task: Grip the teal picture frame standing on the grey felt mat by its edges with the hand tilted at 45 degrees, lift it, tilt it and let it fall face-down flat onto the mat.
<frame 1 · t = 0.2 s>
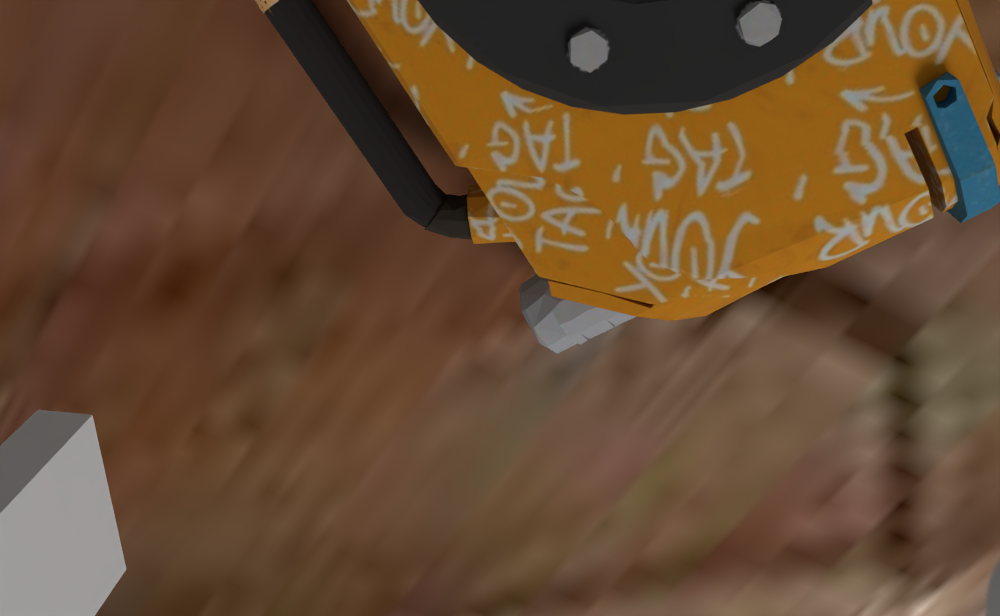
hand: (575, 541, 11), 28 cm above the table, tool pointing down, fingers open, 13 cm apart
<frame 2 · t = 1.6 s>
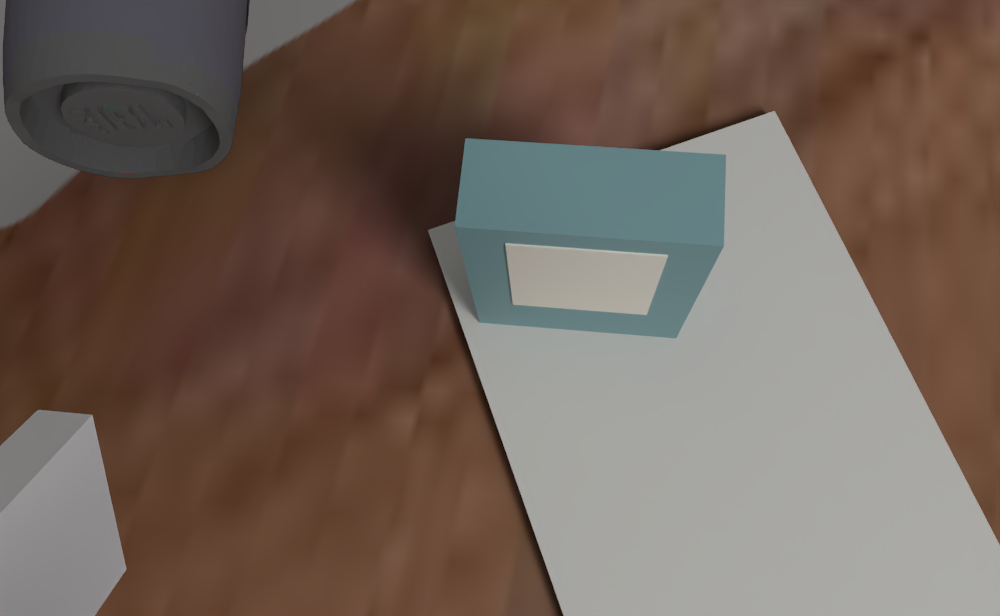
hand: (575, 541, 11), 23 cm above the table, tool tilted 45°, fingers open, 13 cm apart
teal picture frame: (579, 295, 36), point 1 cm above the table, touching mat
mat: (703, 409, 35), on the table
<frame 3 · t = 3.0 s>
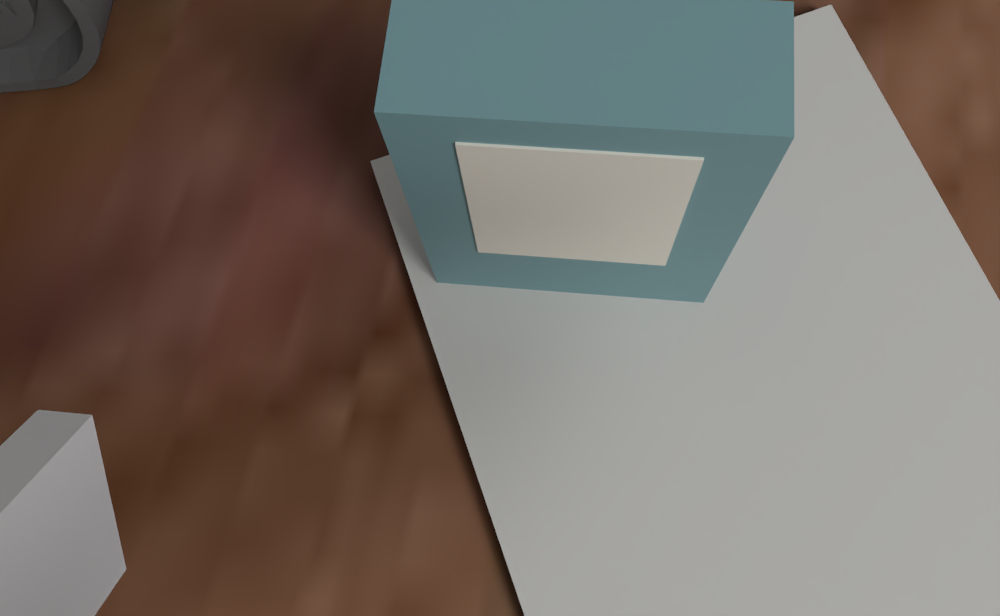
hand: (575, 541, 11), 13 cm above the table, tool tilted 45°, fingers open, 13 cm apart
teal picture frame: (572, 246, 26), point 1 cm above the table, touching mat
mat: (740, 398, 25), on the table
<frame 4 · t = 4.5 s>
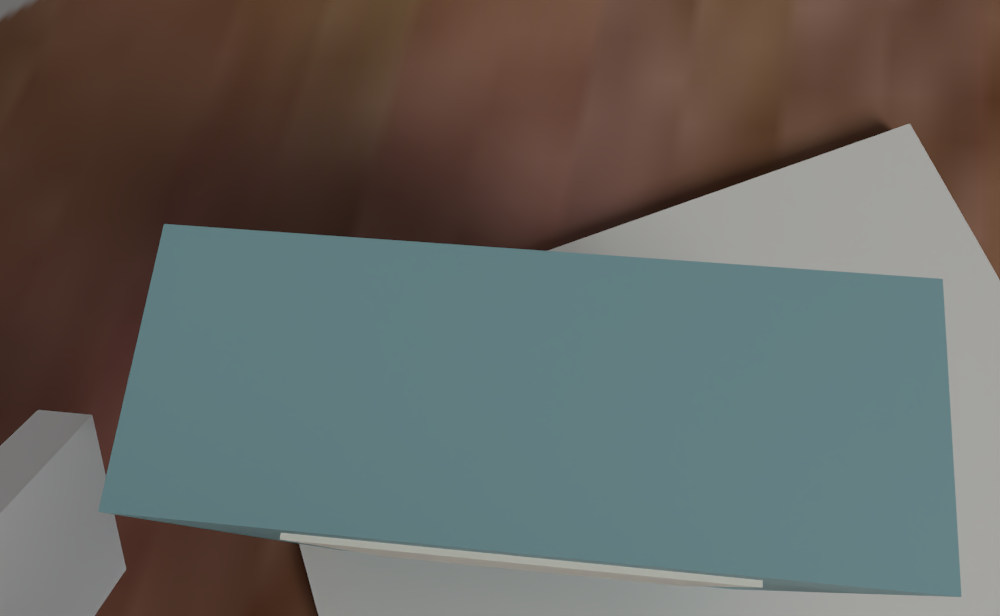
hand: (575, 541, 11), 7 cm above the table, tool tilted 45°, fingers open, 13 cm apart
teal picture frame: (538, 494, 18), point 1 cm above the table, touching mat
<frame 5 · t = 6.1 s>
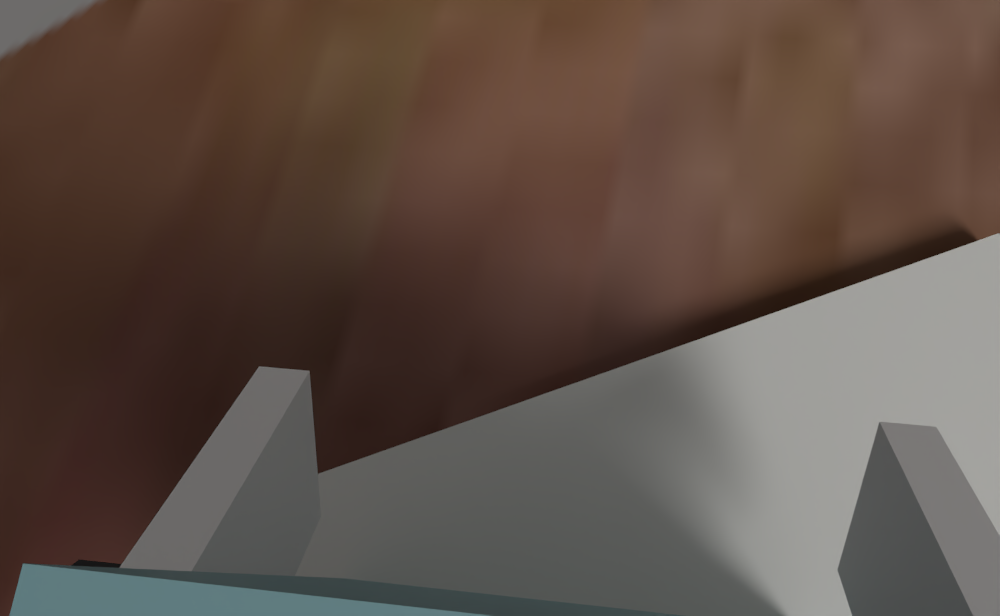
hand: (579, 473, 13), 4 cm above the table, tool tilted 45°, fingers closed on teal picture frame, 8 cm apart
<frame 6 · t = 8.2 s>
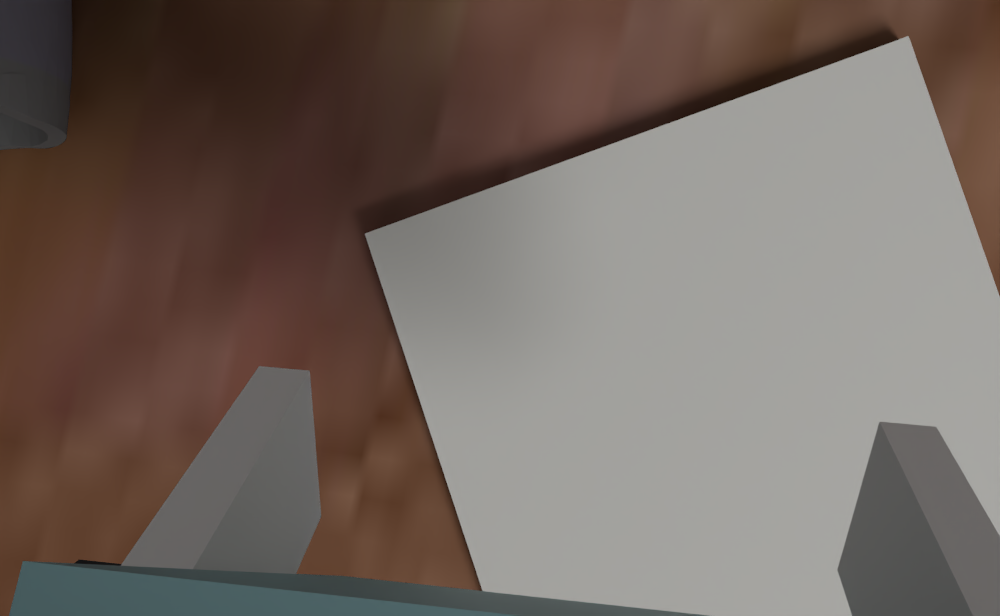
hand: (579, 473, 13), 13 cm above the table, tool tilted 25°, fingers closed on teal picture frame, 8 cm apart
mat: (745, 506, 25), on the table
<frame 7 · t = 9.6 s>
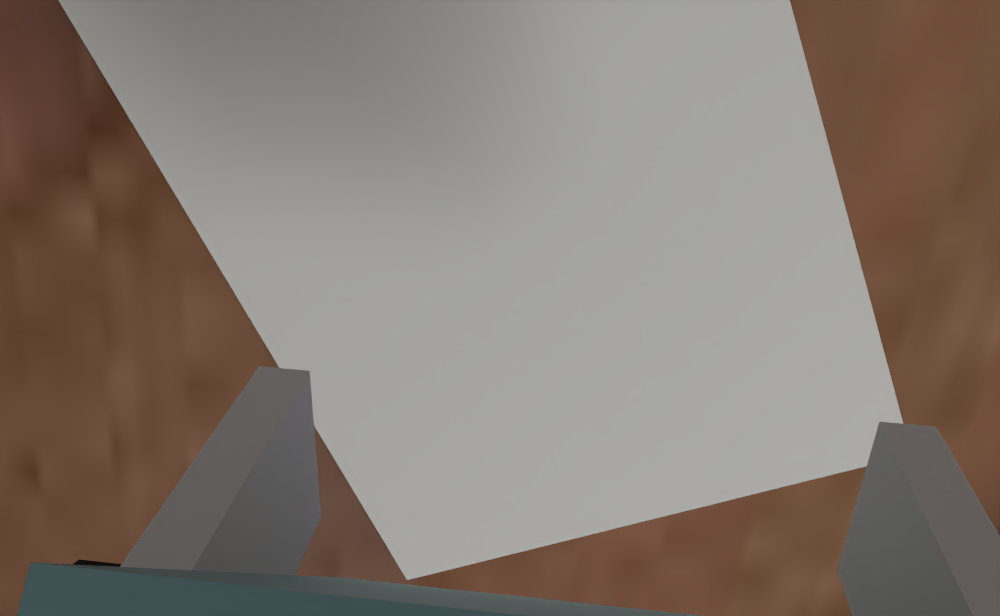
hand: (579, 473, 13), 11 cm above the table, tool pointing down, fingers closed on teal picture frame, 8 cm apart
mat: (501, 196, 23), on the table
when the fingers open (3 cm above the table, at t = 11.4 s): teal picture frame moves 1 cm and tips over, resting on mat.
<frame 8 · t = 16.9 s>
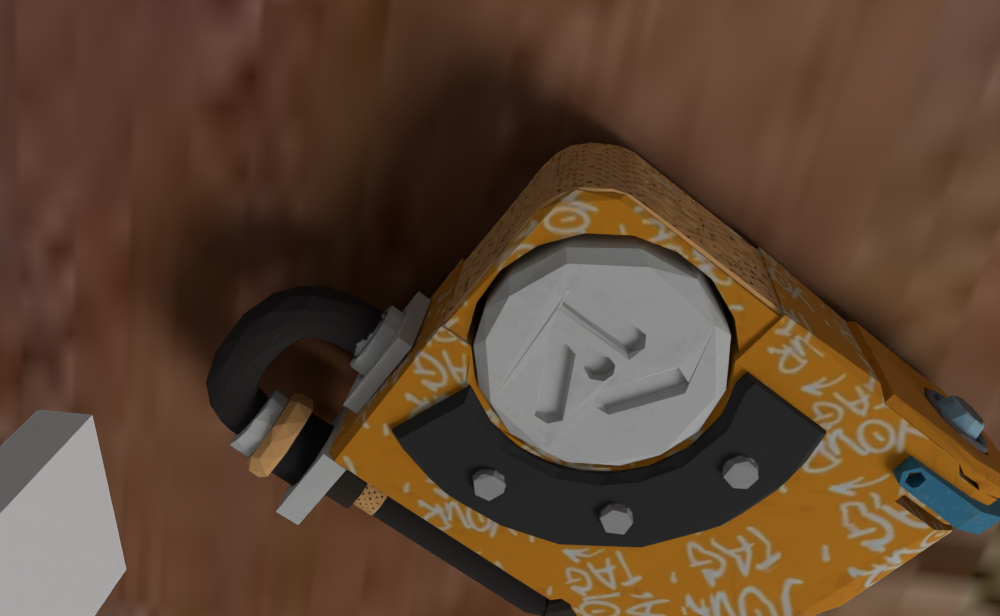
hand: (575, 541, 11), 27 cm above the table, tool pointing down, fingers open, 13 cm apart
device: (585, 381, 42), on the table
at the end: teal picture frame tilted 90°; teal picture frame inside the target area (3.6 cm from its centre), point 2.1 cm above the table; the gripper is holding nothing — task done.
